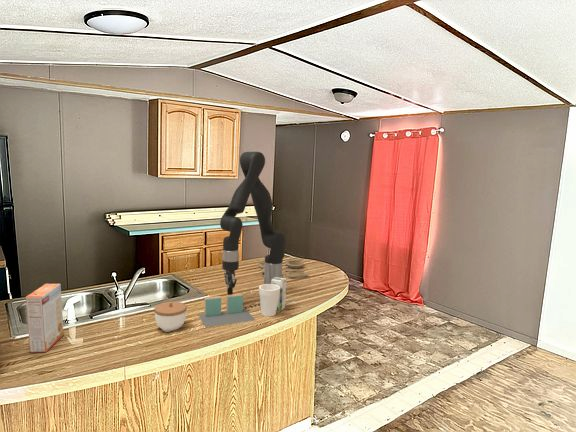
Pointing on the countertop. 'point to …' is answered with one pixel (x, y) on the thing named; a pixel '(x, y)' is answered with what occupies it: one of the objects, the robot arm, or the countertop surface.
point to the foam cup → (269, 299)
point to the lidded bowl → (170, 315)
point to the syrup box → (282, 295)
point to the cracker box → (44, 317)
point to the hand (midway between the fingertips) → (229, 295)
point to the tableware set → (292, 264)
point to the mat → (226, 318)
